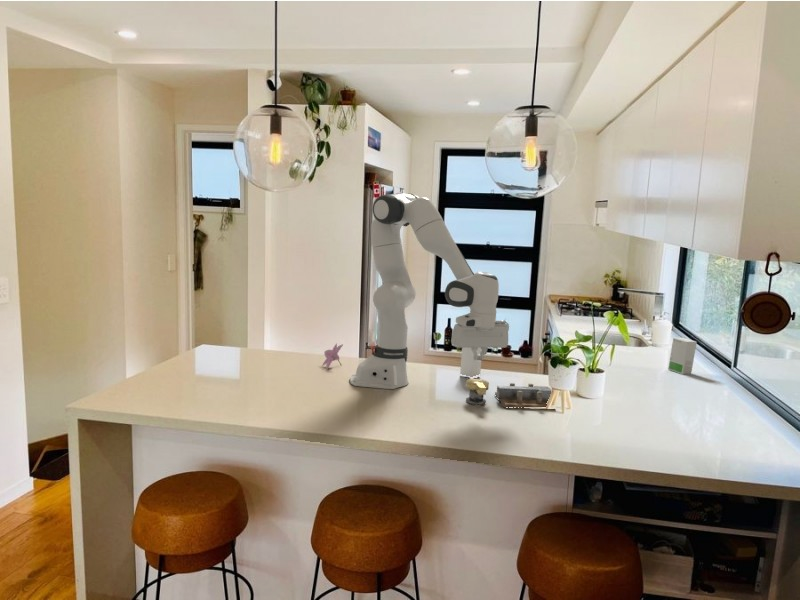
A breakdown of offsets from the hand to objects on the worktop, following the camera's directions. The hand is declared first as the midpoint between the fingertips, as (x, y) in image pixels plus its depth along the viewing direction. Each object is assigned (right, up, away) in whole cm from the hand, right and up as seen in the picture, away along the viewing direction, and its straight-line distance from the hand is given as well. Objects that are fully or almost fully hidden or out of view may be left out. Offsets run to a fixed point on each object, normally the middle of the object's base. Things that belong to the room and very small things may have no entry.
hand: (478, 359), depth 195 cm
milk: (+2, -11, +39) cm, 41 cm away
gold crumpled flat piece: (0, -11, +3) cm, 11 cm away
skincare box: (+104, -13, +71) cm, 127 cm away
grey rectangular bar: (+18, -15, +9) cm, 25 cm away
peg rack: (+18, -16, +9) cm, 26 cm away
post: (0, -16, +6) cm, 17 cm away
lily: (-55, -8, +42) cm, 70 cm away
